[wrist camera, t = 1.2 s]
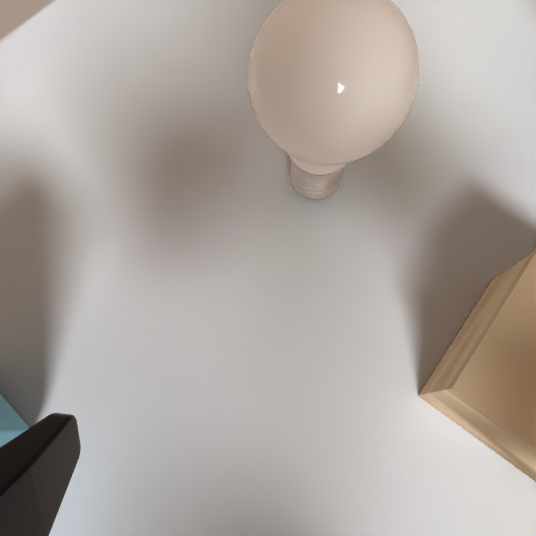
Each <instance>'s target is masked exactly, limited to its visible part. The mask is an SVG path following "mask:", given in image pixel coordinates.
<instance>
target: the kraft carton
mask: <svg viewBox="0 0 536 536" xmlns="http://www.w3.org/2000/svg"><path fill="white" fill-rule="evenodd" d="M418 396H420V397H421V398H422V399H424V400H425V401H426V402H428V403H429V404H431V405H432V406H433V407H435V408H436V409H437V410H439V411H440V412H441V413H443V414H444V415H446V416H447V417H448V418H450V419H451V420H452V421H454V422H455V423H457V424H458V425H459V426H461V427H462V428H463V429H465V430H466V431H467V432H469V433H470V434H472V435H473V436H474V437H476V438H477V439H478V440H480V441H481V442H483V443H484V444H485V445H487V446H488V447H489V448H491V449H492V450H494V451H495V452H496V453H498V454H499V455H500V456H502V457H503V458H504V459H506V460H507V461H509V462H510V463H511V464H513V465H514V466H515V467H517V468H518V469H520V470H521V471H522V472H524V473H525V474H526V475H528V476H529V477H530V478H532V479H533V480H535V481H536V247H535V248H534V249H533V251H532V252H531V254H530V255H529V256H527V257H526V258H524V259H523V260H521V261H520V262H518V263H517V264H515V265H514V266H512V267H511V268H509V269H508V270H506V271H505V272H503V273H502V274H500V275H499V276H497V277H496V278H494V279H493V280H491V282H490V284H489V285H488V287H487V288H486V290H485V291H484V293H483V295H482V296H481V298H480V299H479V301H478V302H477V304H476V306H475V307H474V309H473V310H472V312H471V313H470V315H469V316H468V318H467V320H466V321H465V323H464V324H463V326H462V327H461V329H460V331H459V332H458V334H457V335H456V337H455V338H454V340H453V342H452V343H451V345H450V346H449V348H448V349H447V351H446V352H445V354H444V356H443V357H442V359H441V360H440V362H439V363H438V365H437V367H436V368H435V370H434V371H433V373H432V374H431V376H430V378H429V379H428V381H427V382H426V384H425V385H424V387H423V389H422V390H421V392H420V393H419V395H418Z"/></svg>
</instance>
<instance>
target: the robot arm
mask: <svg viewBox="0 0 536 536" xmlns="http://www.w3.org/2000/svg"><path fill="white" fill-rule="evenodd" d="M80 448H81V446H80V439H79V433H78V426H77V421H76V418H75V417H74V416H73V415H70V414H61V413H53V414H50V415H48V416H47V417H45V418H44V419H42V420H41V421H39V422H38V423H36V424H35V425H33V426H32V427H30V428H29V429H27V430H26V431H24V432H23V433H21V434H20V435H18V436H16V437H15V438H13V439H12V440H10V441H9V442H7V443H6V444H4V445H3V446H1V447H0V536H48V535H49V533H50V530H51V528H52V526H53V523H54V520H55V518H56V515H57V513H58V510H59V508H60V505H61V503H62V500H63V497H64V495H65V492H66V490H67V487H68V485H69V482H70V479H71V477H72V474H73V472H74V469H75V467H76V464H77V461H78V459H79V455H80Z"/></svg>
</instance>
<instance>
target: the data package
mask: <svg viewBox="0 0 536 536" xmlns="http://www.w3.org/2000/svg"><path fill="white" fill-rule="evenodd" d="M27 429H29V427H28V425H27V424H26V423H25V422H24V421H23V419H22V418H21V417H20V416H19V415H18V414H17V412H16V411H15V410H14V409H13V408H12V407H11V405H10V404H9V403H8V402H7V401H6V399H5V398H4V397H3V396H2V395H1V394H0V447H1V446H3V445H4V444H6V443H7V442H9V441H10V440H12V439H13V438H15V437H16V436H18V435H20V434H21V433H23V432H24V431H26V430H27Z"/></svg>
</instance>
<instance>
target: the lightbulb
mask: <svg viewBox="0 0 536 536" xmlns="http://www.w3.org/2000/svg"><path fill="white" fill-rule="evenodd" d="M418 80H419V54H418V48H417V44H416V40H415V37H414V34H413V31H412V29H411V27H410V25H409V23H408V21H407V19H406V18H405V16H404V15H403V13H402V12H401V11H400V9H399V8H398V7H397V6H396V5H395V4H394V3H393V2H392V1H391V0H283V1H282V2H281V3H279V4H278V5H277V6H276V7H275V8H274V10H273V11H272V12H271V13H270V14H269V16H268V17H267V18H266V20H265V21H264V23H263V24H262V26H261V28H260V30H259V32H258V34H257V36H256V38H255V41H254V43H253V46H252V49H251V53H250V58H249V64H248V91H249V97H250V101H251V105H252V108H253V111H254V113H255V116H256V118H257V120H258V122H259V124H260V125H261V127H262V129H263V130H264V132H265V133H266V134H267V135H268V137H269V138H270V139H271V140H272V141H273V142H274V143H275V144H276V145H277V146H278V147H280V148H281V149H282V150H283V151H285V152H286V153H288V155H289V156H290V158H291V166H290V180H291V183H292V185H293V187H294V189H295V190H296V191H297V192H298V193H300V194H301V195H303V196H305V197H308V198H313V199H320V198H324V197H327V196H329V195H331V194H332V193H333V192H334V191H335V190H336V189H337V188H338V186H339V184H340V181H341V177H342V173H343V169H344V166H346V165H347V164H348V163H349V162H352V161H355V160H358V159H360V158H363V157H365V156H367V155H369V154H370V153H372V152H374V151H375V150H377V149H378V148H380V147H381V146H382V145H383V144H385V143H386V142H387V141H388V140H389V139H390V138H391V137H392V136H393V135H394V134H395V133H396V131H397V130H398V129H399V127H400V126H401V125H402V123H403V122H404V120H405V118H406V117H407V115H408V113H409V111H410V109H411V106H412V104H413V101H414V98H415V95H416V91H417V86H418Z"/></svg>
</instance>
